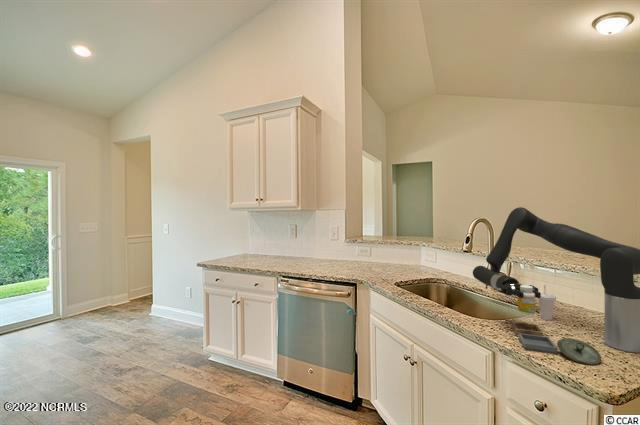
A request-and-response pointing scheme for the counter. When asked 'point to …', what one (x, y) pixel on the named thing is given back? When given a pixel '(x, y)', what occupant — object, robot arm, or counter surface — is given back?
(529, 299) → the supplement bottle
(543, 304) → the smoothie
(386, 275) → the counter surface
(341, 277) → the counter surface
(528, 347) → the tray
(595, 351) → the lid
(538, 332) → the collar block
